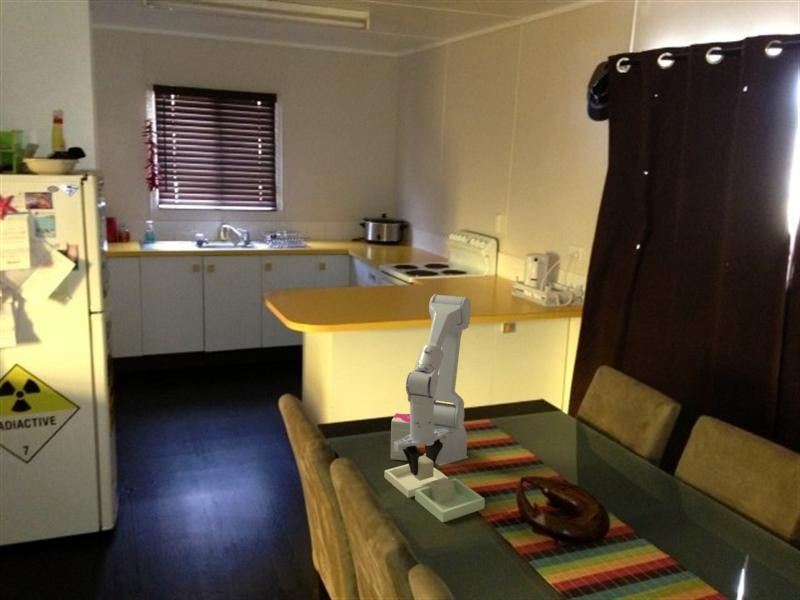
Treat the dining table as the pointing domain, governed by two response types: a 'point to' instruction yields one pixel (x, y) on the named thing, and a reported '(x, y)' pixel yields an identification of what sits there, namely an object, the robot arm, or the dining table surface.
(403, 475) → the tray
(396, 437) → the supplement box
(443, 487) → the cream cube block
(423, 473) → the ivory sharp-edged cube
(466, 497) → the tub
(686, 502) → the dining table surface
